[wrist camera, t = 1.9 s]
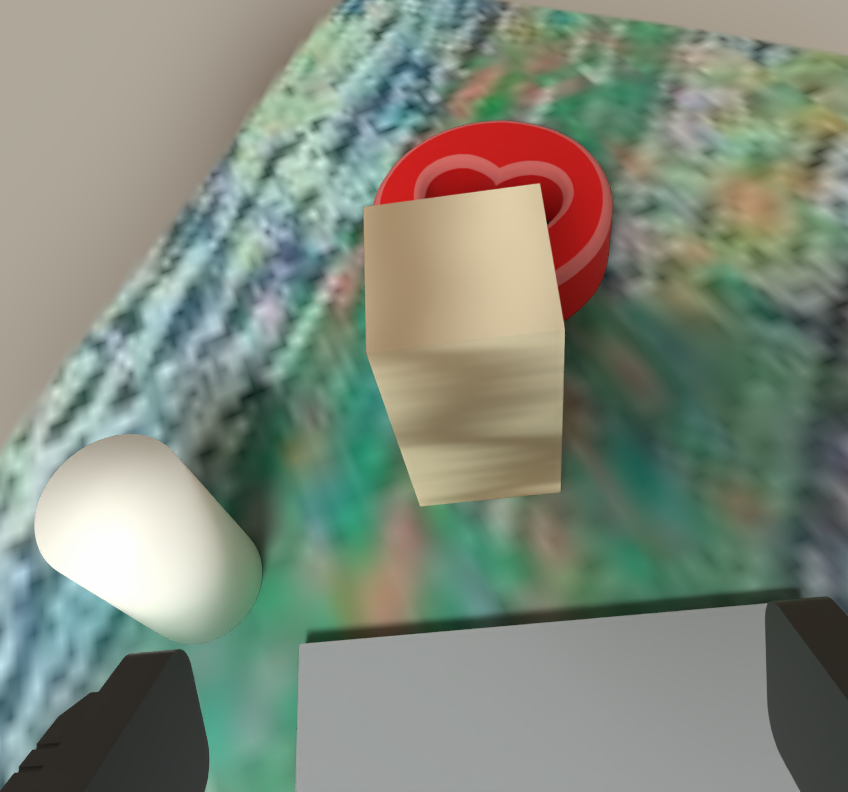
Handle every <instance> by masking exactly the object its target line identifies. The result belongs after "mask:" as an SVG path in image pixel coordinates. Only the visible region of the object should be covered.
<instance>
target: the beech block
mask: <svg viewBox="0 0 848 792" xmlns="http://www.w3.org/2000/svg"><path fill="white" fill-rule="evenodd" d="M364 258H365V315H366V354H367V357H368V359H369V362H370V365H371V368H372V371H373V374H374V376H375V379H376V382H377V385H378V388H379V391H380V394H381V396H382V399H383V402H384V405H385V408H386V411H387V413H388V416H389V419H390V422H391V425H392V428H393V430H394V433H395V436H396V439H397V442H398V445H399V448H400V450H401V453H402V456H403V459H404V462H405V465H406V467H407V470H408V473H409V476H410V479H411V482H412V484H413V487H414V490H415V493H416V496H417V499H418V502H419V504H420V506H428V505H438V504H448V503H458V502H468V501H478V500H488V499H498V498H508V497H518V496H528V495H537V494H547V493H557V492H561V459H562V421H563V383H564V345H565V327H564V321H563V315H562V309H561V304H560V298H559V292H558V286H557V280H556V274H555V269H554V263H553V257H552V251H551V245H550V240H549V234H548V228H547V222H546V216H545V210H544V205H543V199H542V193H541V187H540V183H538V184H531V185H524V186H516V187H509V188H501V189H494V190H486V191H479V192H471V193H464V194H457V195H449V196H442V197H434V198H427V199H419V200H412V201H404V202H397V203H390V204H382V205H375V206H367V207H364Z"/></svg>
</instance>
